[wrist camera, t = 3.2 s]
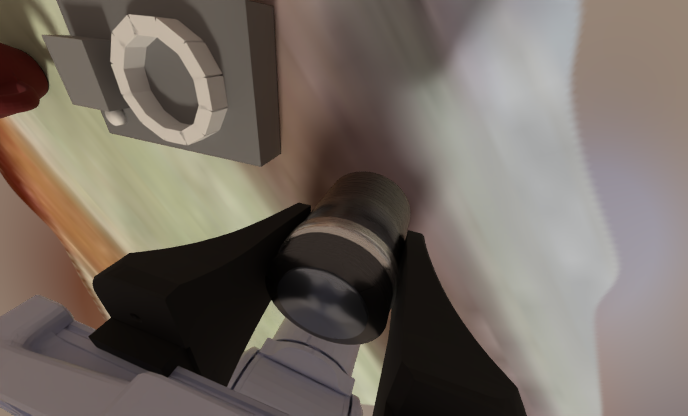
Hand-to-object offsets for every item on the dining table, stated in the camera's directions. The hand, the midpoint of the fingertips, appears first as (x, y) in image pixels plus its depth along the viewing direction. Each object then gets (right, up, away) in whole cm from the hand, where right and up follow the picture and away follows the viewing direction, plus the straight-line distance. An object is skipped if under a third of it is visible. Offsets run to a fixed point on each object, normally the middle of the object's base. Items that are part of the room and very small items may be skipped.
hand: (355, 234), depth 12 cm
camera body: (-13, +12, +9) cm, 19 cm away
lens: (+1, +1, +1) cm, 2 cm away
